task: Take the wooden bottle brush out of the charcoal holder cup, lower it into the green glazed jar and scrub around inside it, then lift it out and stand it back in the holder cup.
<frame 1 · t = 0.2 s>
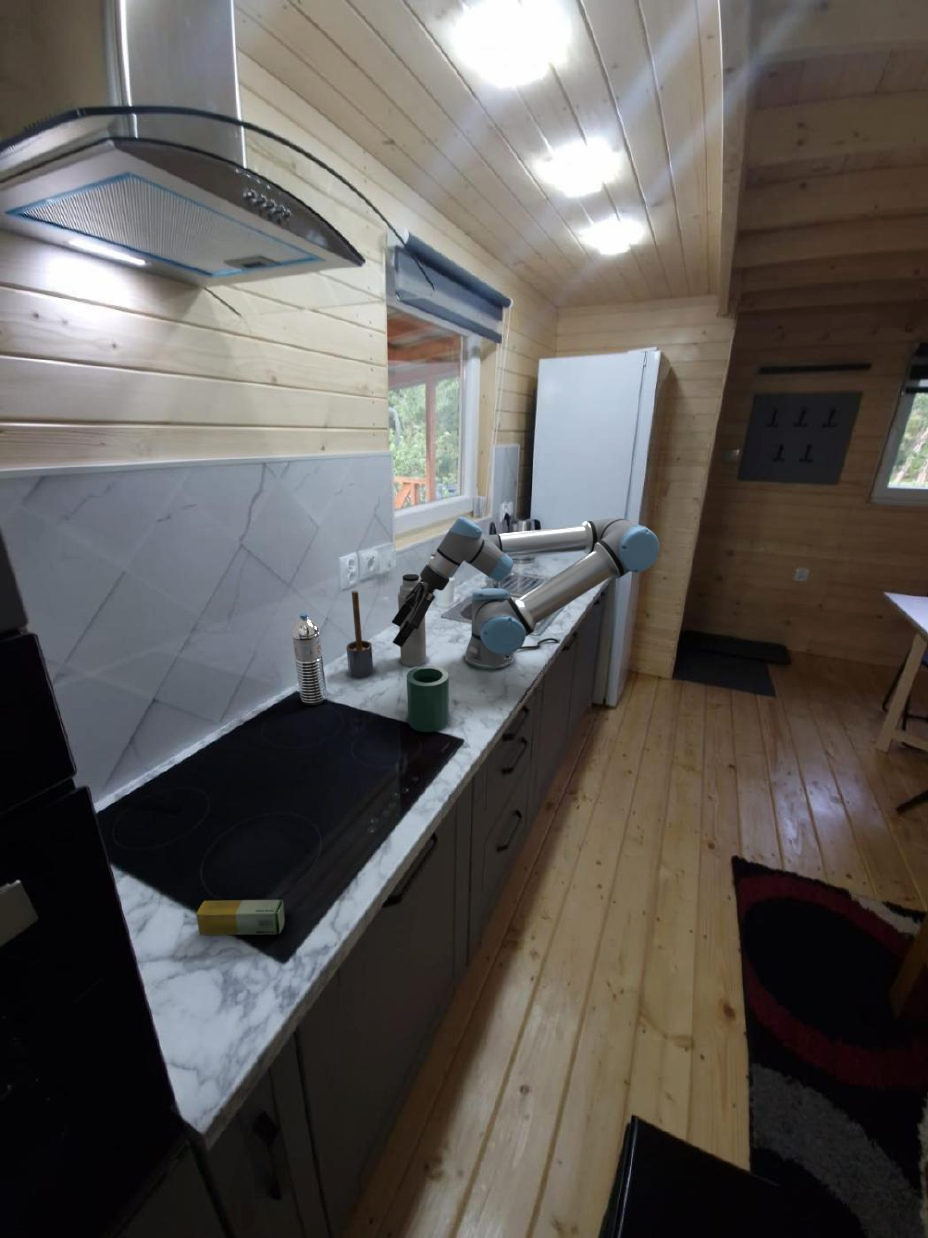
hand: (396, 634, 136), 16 cm above the worktop, tool tilted 35°, fingers open, 13 cm apart
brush: (361, 670, 148), point 1 cm above the worktop, touching holder
water bottle: (314, 700, 134), on the worktop
thermos bottle: (413, 661, 156), on the worktop
jar: (428, 720, 126), on the worktop
holder: (361, 672, 149), on the worktop
medication box: (244, 928, 75), on the worktop
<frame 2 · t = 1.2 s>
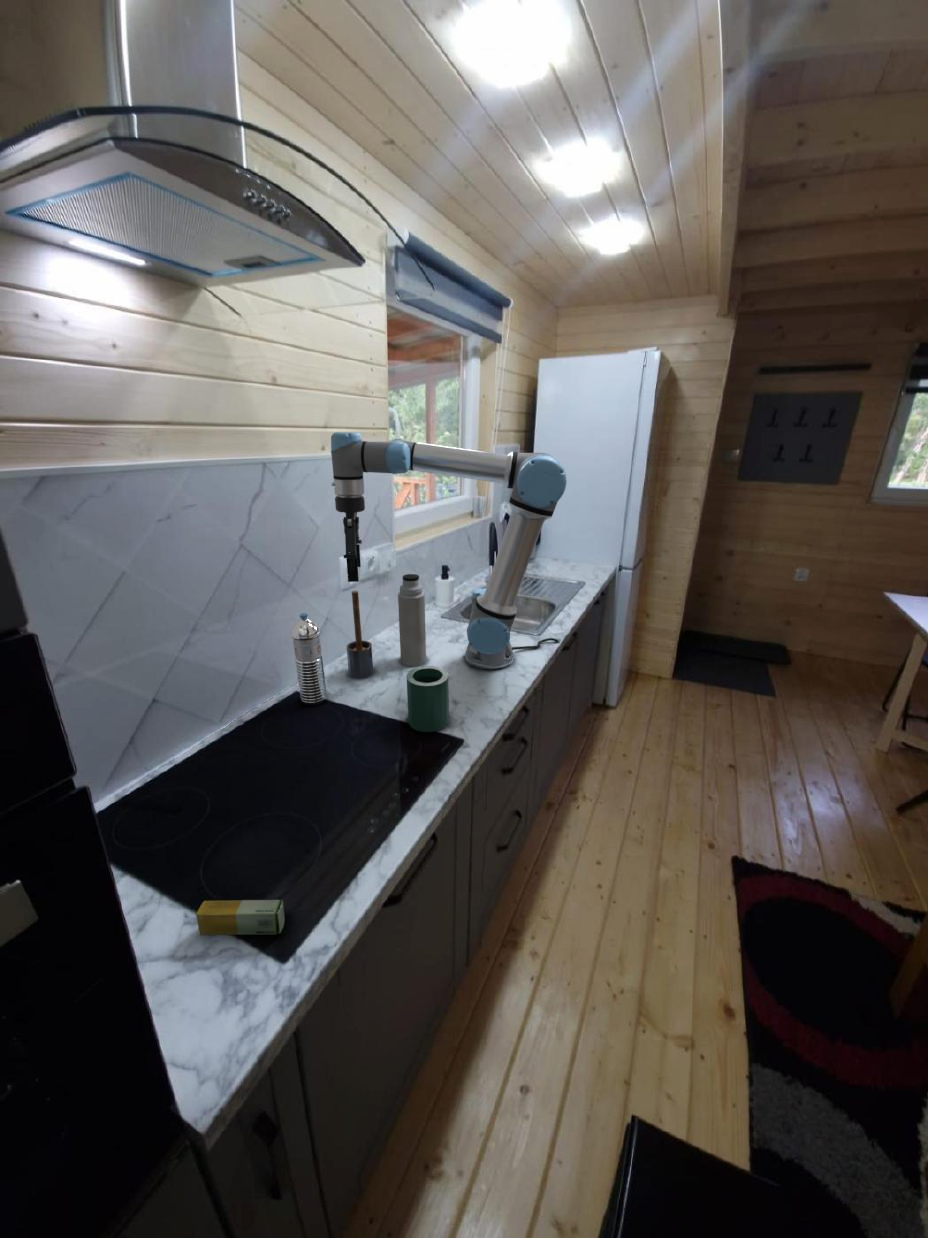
hand: (354, 573, 137), 31 cm above the worktop, tool pointing down, fingers open, 13 cm apart
nothing on the worktop moved.
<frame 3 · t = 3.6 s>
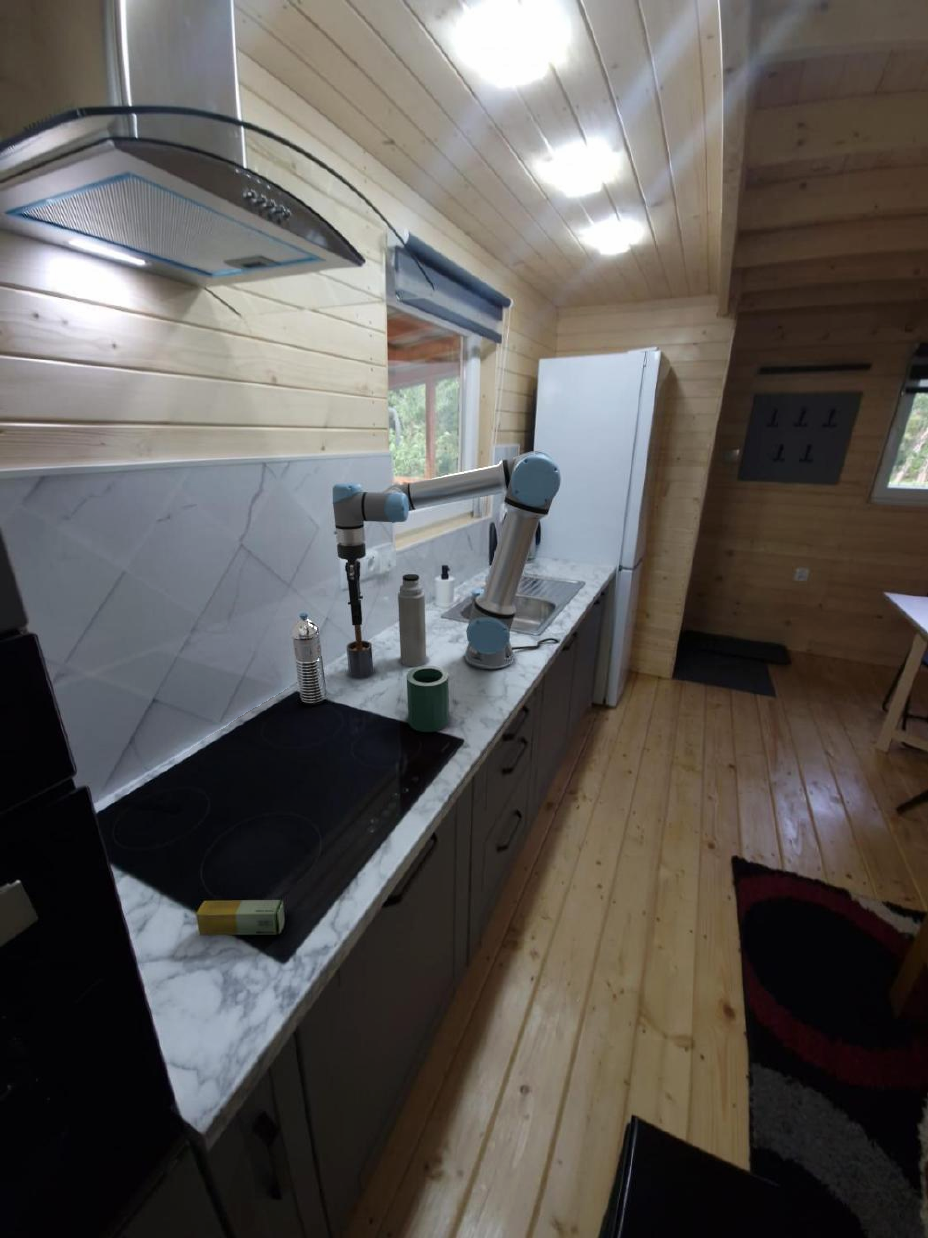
hand: (357, 622, 143), 16 cm above the worktop, tool pointing down, fingers closed on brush, 2 cm apart
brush: (361, 670, 148), point 1 cm above the worktop, touching gripper, holder
everything else where it was.
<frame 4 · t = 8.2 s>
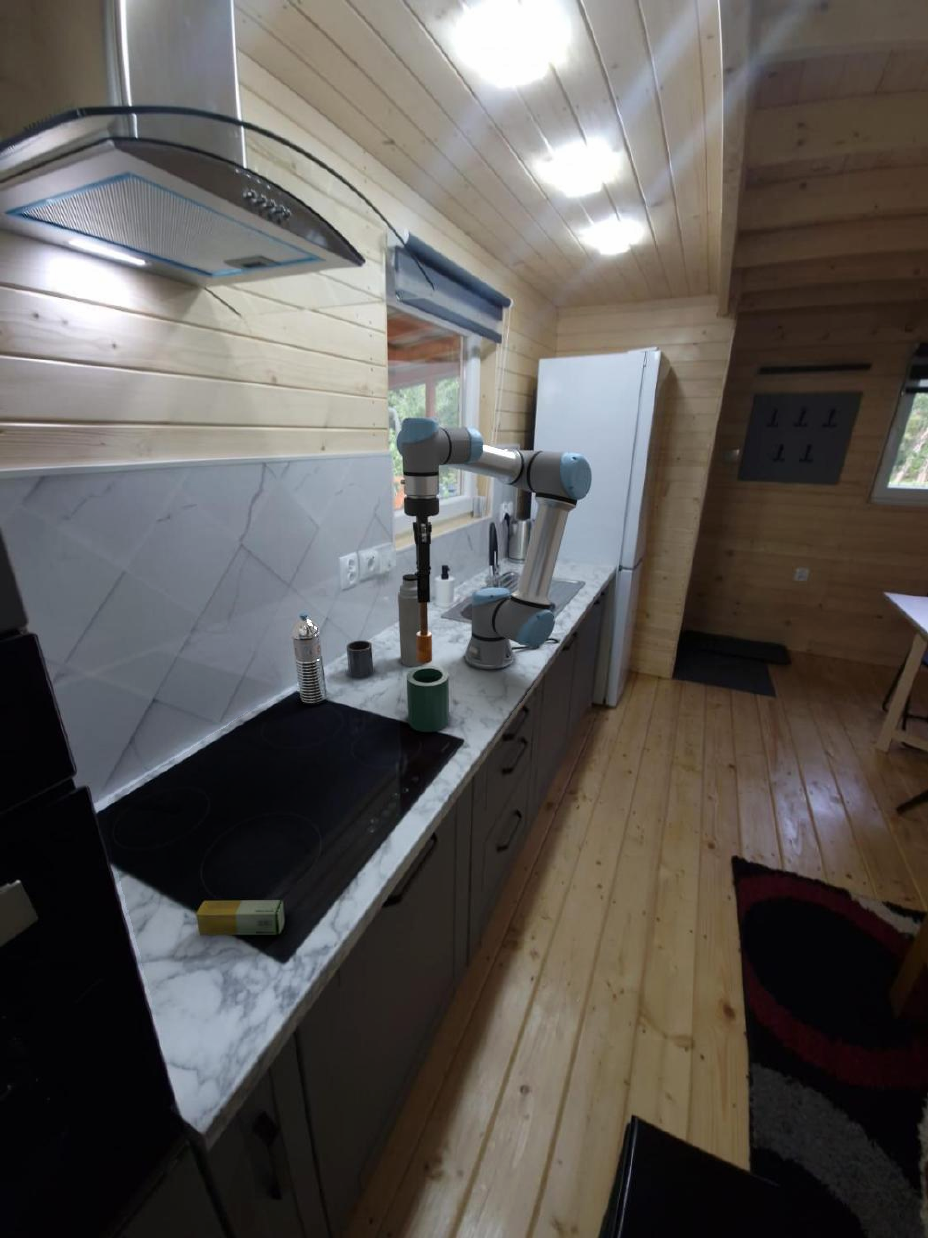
hand: (423, 600, 114), 32 cm above the worktop, tool pointing down, fingers closed on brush, 2 cm apart
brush: (424, 660, 119), point 17 cm above the worktop, touching gripper
everything else where it was.
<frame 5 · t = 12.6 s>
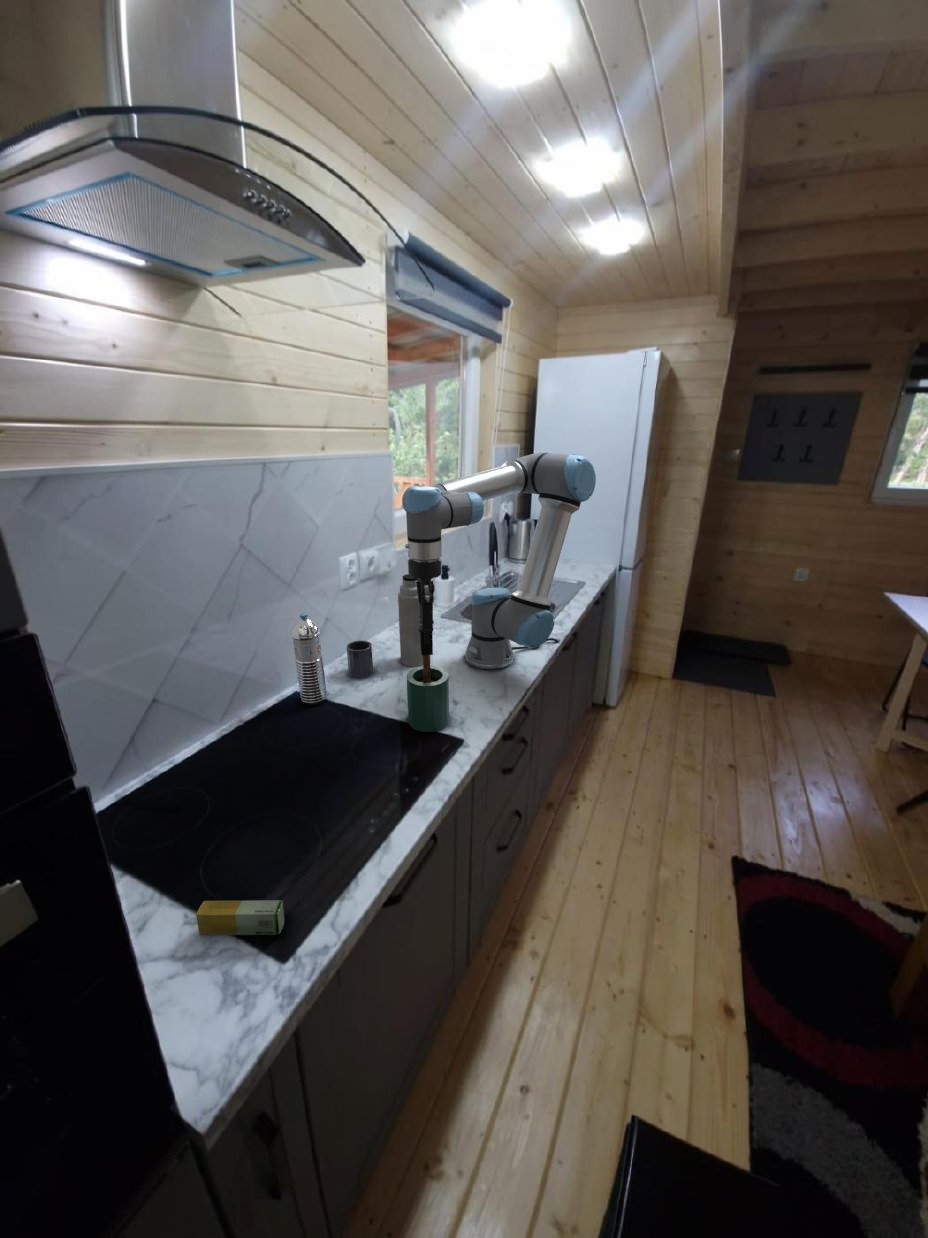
hand: (426, 652, 120), 18 cm above the worktop, tool pointing down, fingers closed on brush, 2 cm apart
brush: (427, 706, 126), point 3 cm above the worktop, touching gripper
everything else where it was.
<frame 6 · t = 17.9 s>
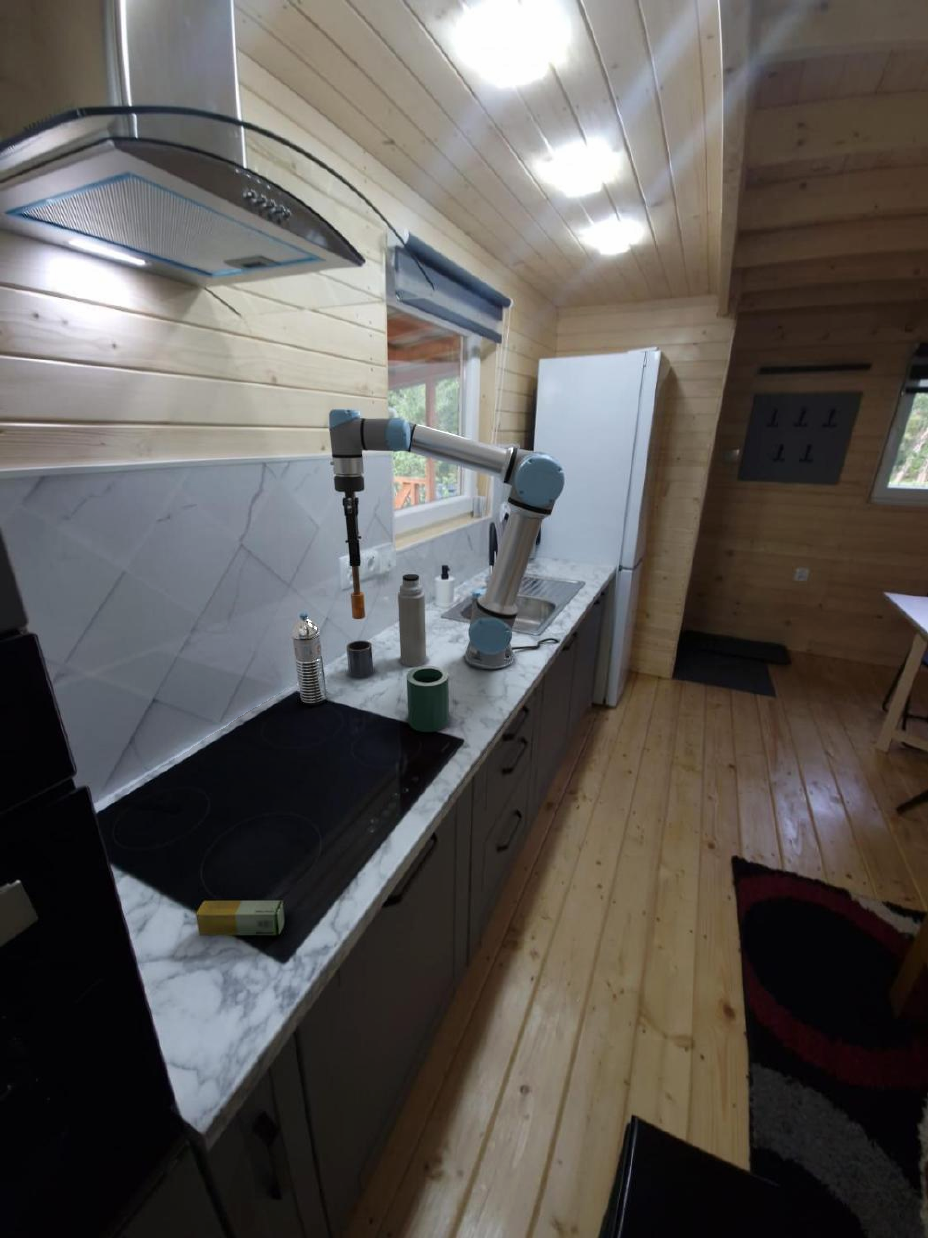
hand: (355, 564, 135), 34 cm above the worktop, tool pointing down, fingers closed on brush, 2 cm apart
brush: (358, 616, 140), point 19 cm above the worktop, touching gripper
everything else where it was.
when the fingers open (16 cm above the worktop, at t = 21.9 s): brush stays where it is, resting on holder.
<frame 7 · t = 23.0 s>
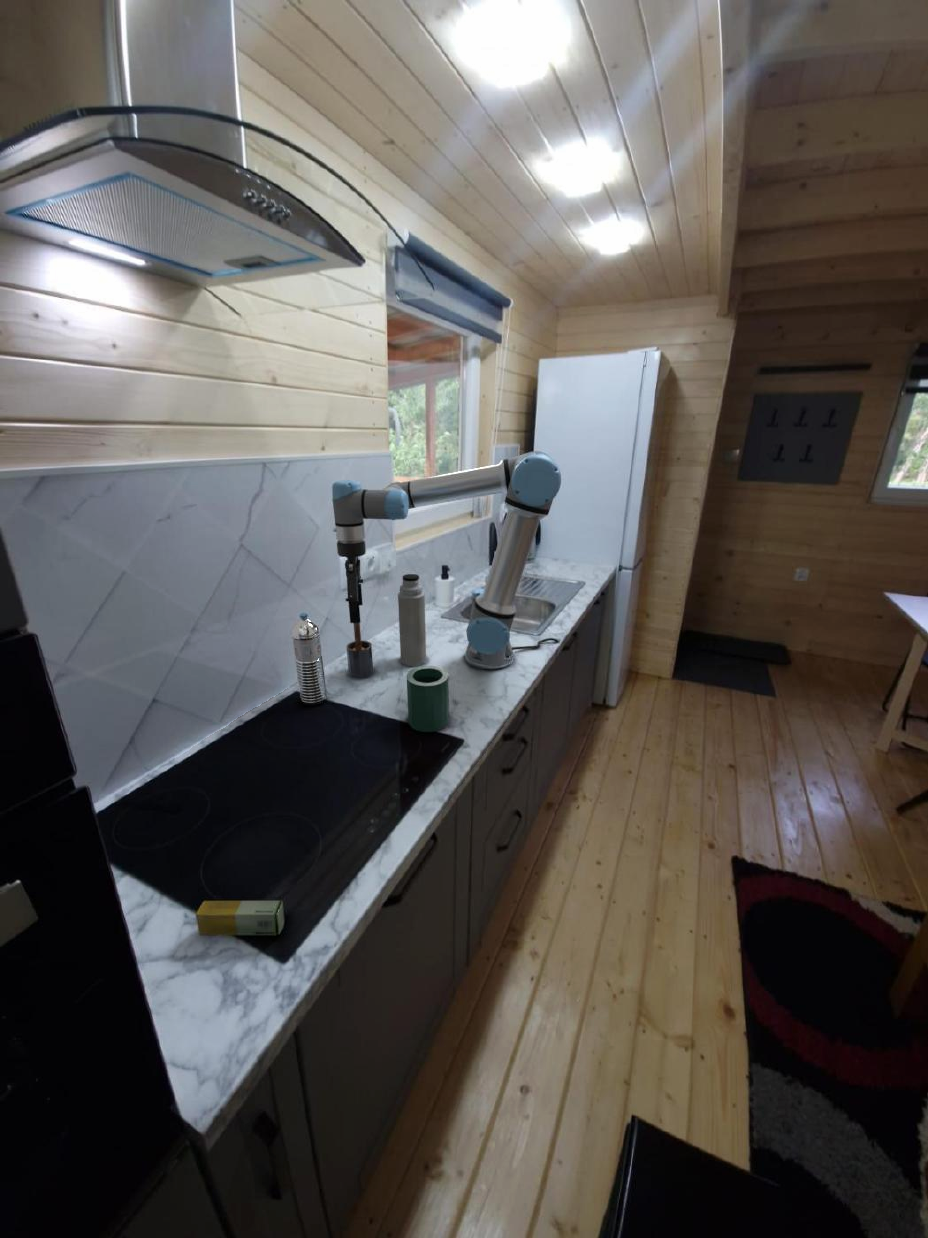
hand: (356, 613, 141), 19 cm above the worktop, tool pointing down, fingers open, 13 cm apart
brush: (360, 670, 148), point 1 cm above the worktop, touching holder
everything else where it was.
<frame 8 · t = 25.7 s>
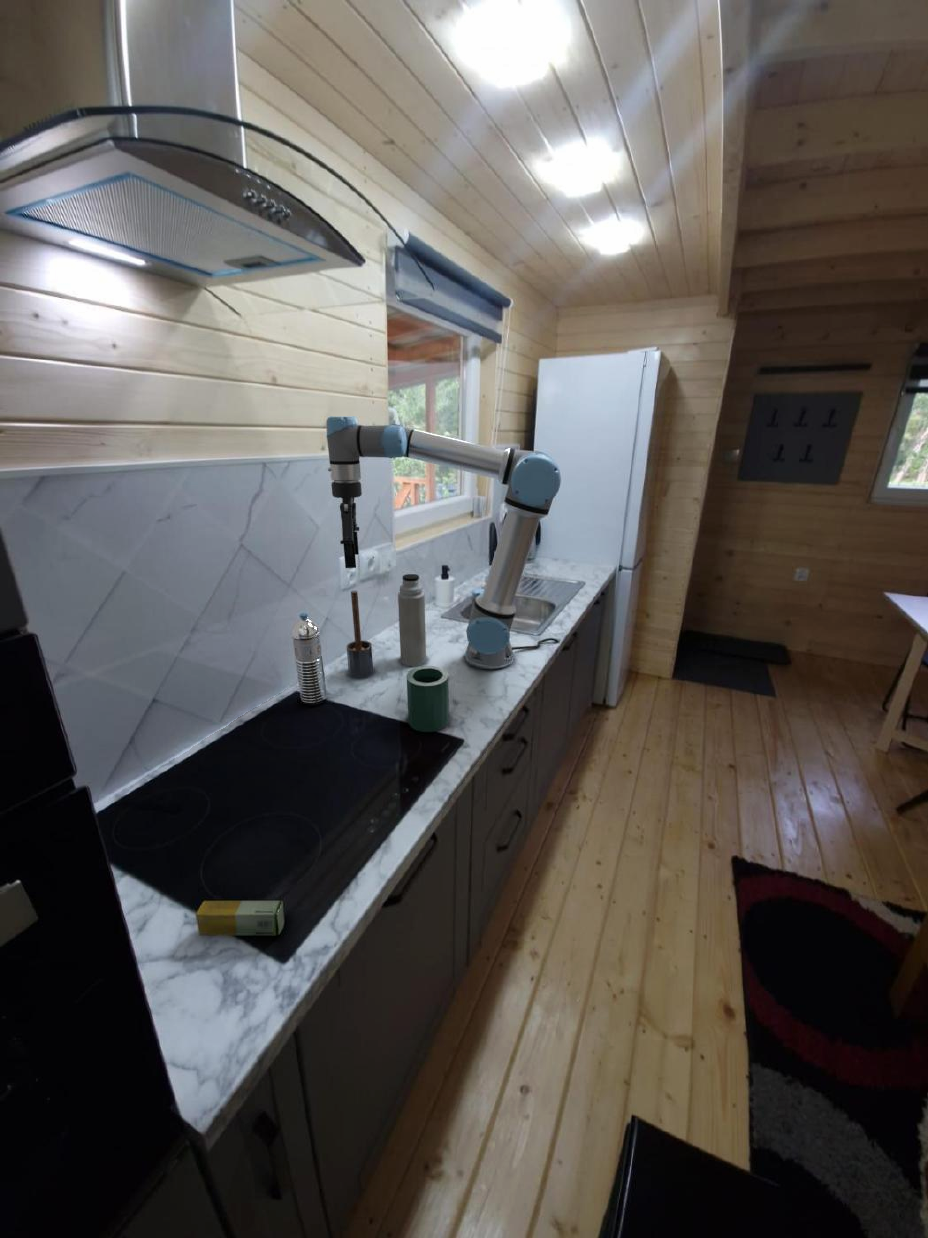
hand: (352, 560, 136), 35 cm above the worktop, tool pointing down, fingers open, 13 cm apart
nothing on the worktop moved.
at the end: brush 0.2 cm off-centre in the holder, point 0.8 cm above the holder's base; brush tilted 0°; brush touching holder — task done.
